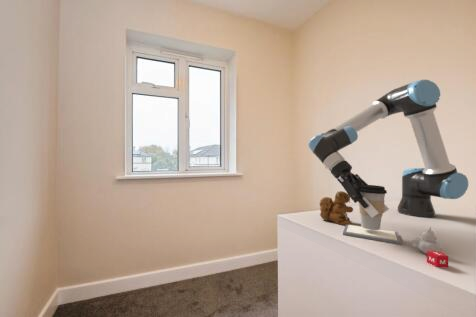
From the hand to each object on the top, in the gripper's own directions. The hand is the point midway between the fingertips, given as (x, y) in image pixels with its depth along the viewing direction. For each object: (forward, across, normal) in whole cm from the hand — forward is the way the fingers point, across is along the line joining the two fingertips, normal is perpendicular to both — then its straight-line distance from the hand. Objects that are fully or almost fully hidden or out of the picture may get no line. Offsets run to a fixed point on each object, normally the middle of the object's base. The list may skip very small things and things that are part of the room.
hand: (380, 213), depth 80 cm
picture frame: (+4, 0, -8) cm, 9 cm away
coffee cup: (+2, 0, -7) cm, 7 cm away
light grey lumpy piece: (+16, +5, +4) cm, 17 cm away
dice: (+18, +12, +6) cm, 23 cm away
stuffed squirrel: (-8, -7, -20) cm, 23 cm away
